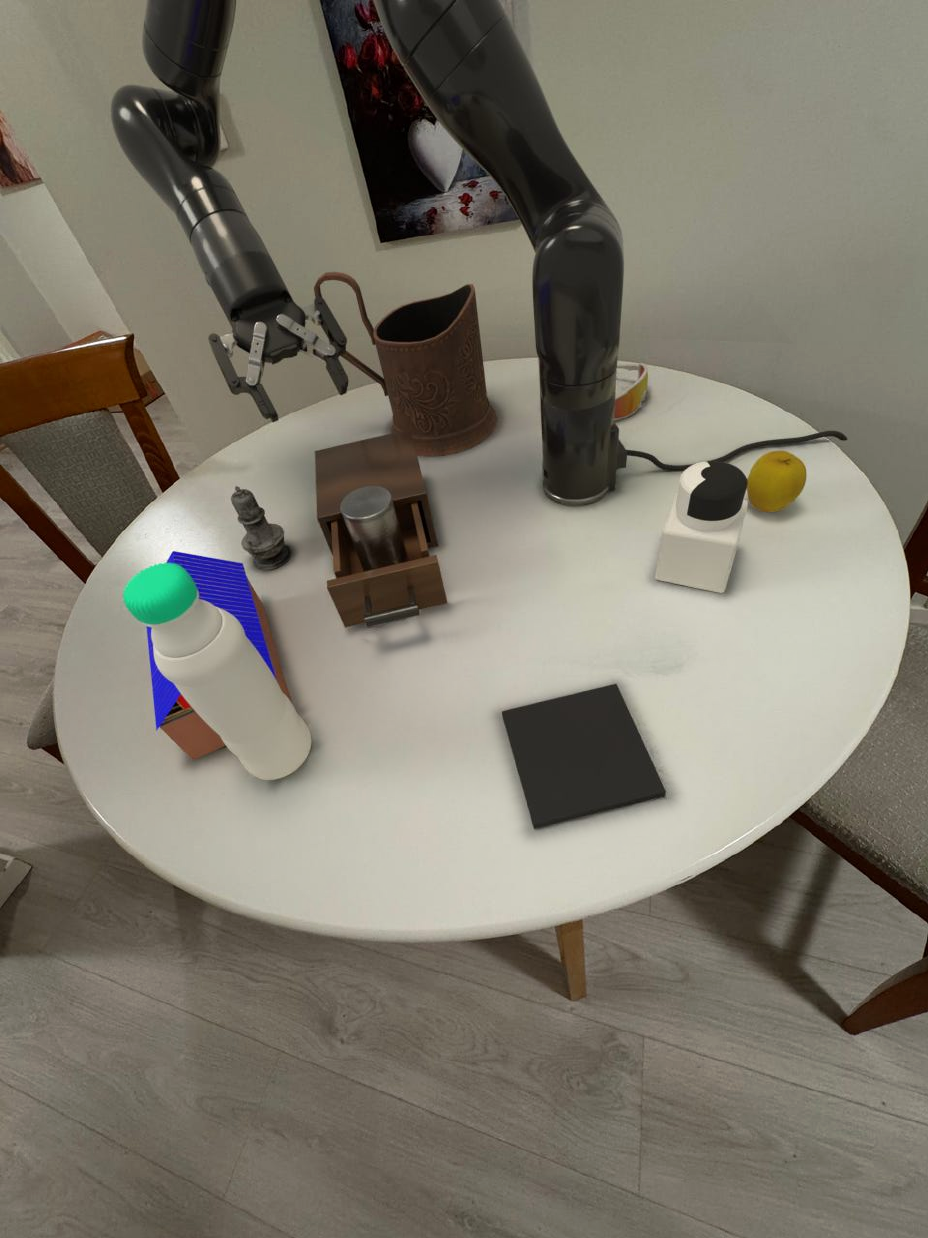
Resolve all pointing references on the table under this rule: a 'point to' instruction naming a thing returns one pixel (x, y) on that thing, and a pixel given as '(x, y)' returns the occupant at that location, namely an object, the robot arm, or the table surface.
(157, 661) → the water bottle
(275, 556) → the stone chess piece
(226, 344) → the robot arm
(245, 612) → the house
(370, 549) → the metal canister
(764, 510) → the apple
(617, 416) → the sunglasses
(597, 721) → the coaster mat
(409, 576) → the drawer
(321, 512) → the cabinet
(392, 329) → the brown embossed pitcher
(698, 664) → the table surface
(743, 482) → the container
